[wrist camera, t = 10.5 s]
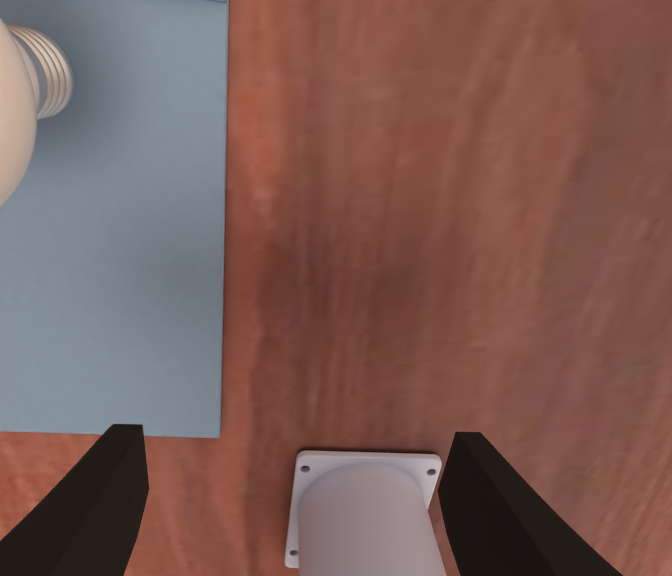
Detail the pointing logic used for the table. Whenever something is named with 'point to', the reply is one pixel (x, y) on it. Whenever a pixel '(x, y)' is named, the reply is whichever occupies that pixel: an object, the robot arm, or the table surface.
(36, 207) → the blue lipped board
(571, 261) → the table surface
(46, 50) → the lightbulb
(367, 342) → the table surface
